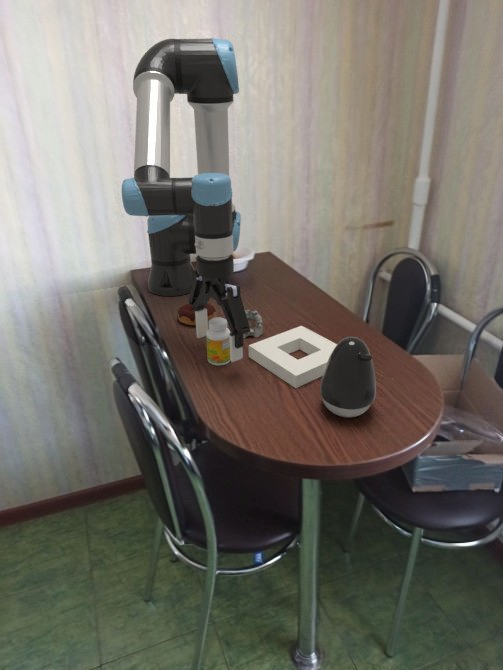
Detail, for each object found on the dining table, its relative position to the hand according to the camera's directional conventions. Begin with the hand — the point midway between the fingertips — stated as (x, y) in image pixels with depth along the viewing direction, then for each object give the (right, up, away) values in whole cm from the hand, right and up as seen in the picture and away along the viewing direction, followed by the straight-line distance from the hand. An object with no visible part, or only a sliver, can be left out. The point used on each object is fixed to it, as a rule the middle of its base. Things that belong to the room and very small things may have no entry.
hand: (218, 347), depth 105 cm
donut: (-7, +7, +21) cm, 23 cm away
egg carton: (+6, +4, +16) cm, 17 cm away
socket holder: (+18, -3, +1) cm, 18 cm away
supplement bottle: (0, -3, +2) cm, 4 cm away
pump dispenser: (+25, -12, -15) cm, 31 cm away
